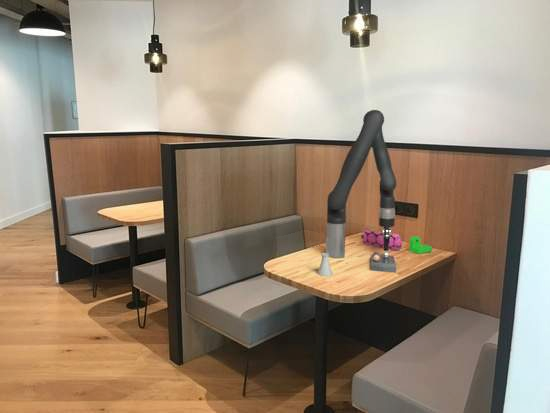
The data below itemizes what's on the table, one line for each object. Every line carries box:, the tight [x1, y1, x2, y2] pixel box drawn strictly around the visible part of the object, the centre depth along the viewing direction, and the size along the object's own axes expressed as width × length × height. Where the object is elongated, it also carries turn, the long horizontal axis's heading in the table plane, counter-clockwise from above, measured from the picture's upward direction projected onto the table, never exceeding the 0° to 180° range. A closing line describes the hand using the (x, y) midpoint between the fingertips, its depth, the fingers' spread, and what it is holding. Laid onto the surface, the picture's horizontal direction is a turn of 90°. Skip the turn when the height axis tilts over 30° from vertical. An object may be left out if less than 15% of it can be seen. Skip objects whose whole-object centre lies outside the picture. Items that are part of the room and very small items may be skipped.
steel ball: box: [382, 251, 390, 258], centre depth 212 cm, size 3×3×3 cm
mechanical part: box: [409, 235, 433, 255], centre depth 234 cm, size 12×6×8 cm, turn 118°
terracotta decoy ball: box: [373, 254, 380, 261], centre depth 206 cm, size 3×3×3 cm
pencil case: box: [360, 227, 403, 251], centre depth 240 cm, size 21×10×10 cm, turn 50°
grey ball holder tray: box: [370, 254, 398, 273], centre depth 208 cm, size 11×18×4 cm, turn 169°
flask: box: [316, 252, 333, 277], centre depth 193 cm, size 7×7×10 cm
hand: (386, 250), depth 218 cm, fingers closed
